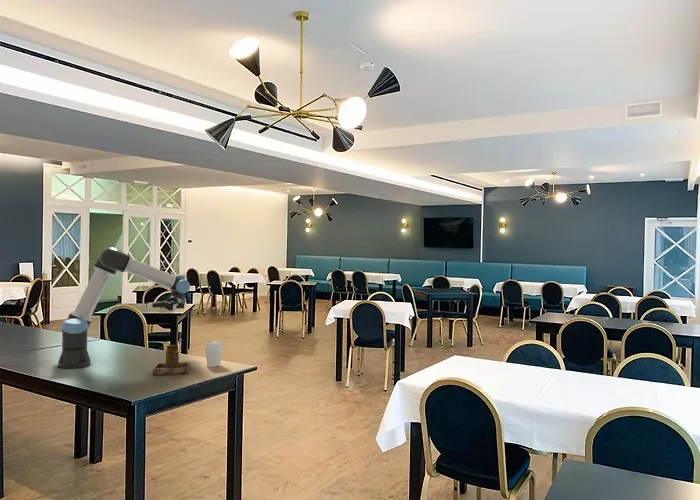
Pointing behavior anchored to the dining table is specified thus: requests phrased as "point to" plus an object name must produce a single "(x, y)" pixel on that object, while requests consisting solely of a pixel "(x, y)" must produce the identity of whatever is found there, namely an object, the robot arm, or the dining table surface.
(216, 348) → the cup
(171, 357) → the condiment
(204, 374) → the dining table surface
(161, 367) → the holder tray
